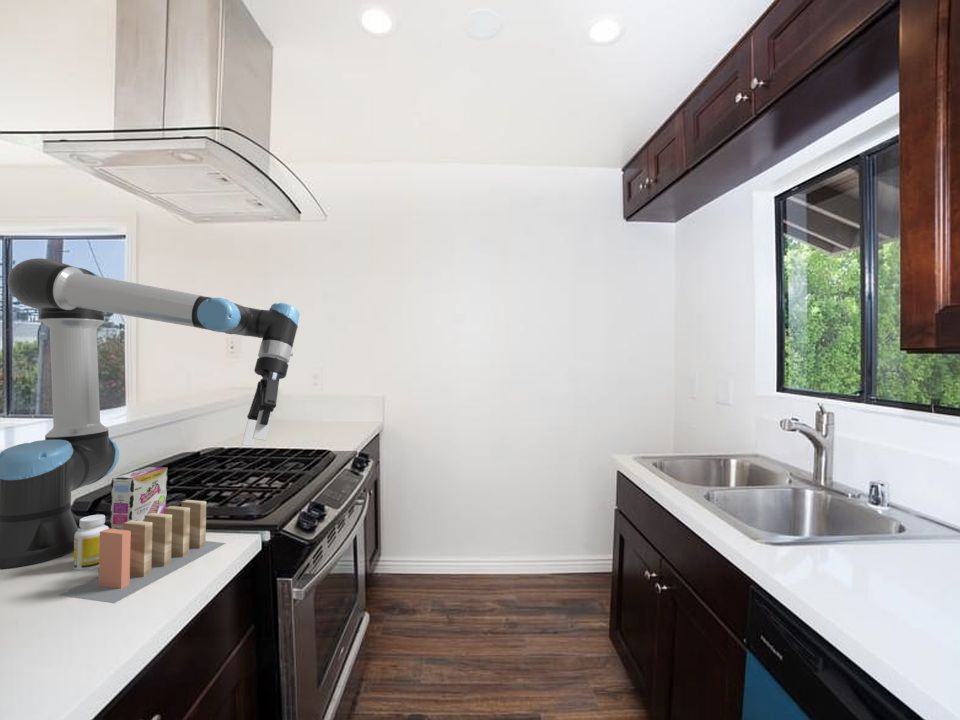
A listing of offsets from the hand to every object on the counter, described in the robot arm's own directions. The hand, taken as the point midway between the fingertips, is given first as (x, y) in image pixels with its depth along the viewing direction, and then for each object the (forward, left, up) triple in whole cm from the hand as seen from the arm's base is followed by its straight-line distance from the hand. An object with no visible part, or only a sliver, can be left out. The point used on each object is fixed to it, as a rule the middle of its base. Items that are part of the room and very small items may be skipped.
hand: (253, 442), depth 108 cm
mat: (-14, -15, -23) cm, 30 cm away
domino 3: (-14, -14, -22) cm, 30 cm away
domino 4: (-12, -9, -22) cm, 27 cm away
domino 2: (-15, -18, -22) cm, 32 cm away
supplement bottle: (-27, -12, -23) cm, 37 cm away
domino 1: (-17, -22, -22) cm, 36 cm away
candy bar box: (-24, -1, -23) cm, 33 cm away
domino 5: (-11, -5, -22) cm, 25 cm away
